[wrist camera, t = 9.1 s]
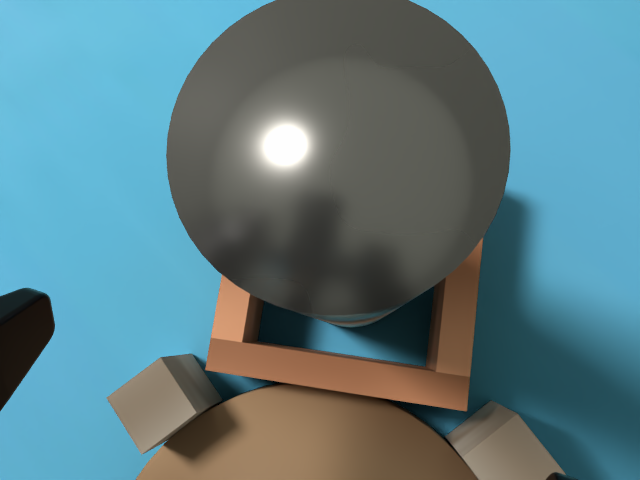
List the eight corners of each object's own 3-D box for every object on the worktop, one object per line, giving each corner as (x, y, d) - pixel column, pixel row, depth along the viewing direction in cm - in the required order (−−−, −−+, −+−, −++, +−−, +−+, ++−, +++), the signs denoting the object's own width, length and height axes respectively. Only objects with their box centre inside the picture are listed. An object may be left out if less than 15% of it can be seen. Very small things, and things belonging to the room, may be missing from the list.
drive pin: (346, 351, 18) (315, 393, 6) (274, 266, 19) (102, 131, 6) (429, 276, 19) (586, 153, 6) (355, 196, 19) (349, -72, 6)
